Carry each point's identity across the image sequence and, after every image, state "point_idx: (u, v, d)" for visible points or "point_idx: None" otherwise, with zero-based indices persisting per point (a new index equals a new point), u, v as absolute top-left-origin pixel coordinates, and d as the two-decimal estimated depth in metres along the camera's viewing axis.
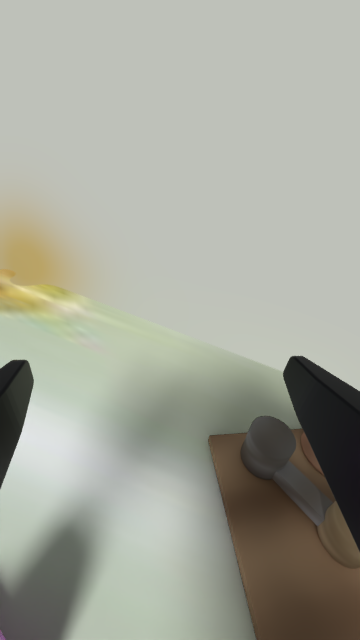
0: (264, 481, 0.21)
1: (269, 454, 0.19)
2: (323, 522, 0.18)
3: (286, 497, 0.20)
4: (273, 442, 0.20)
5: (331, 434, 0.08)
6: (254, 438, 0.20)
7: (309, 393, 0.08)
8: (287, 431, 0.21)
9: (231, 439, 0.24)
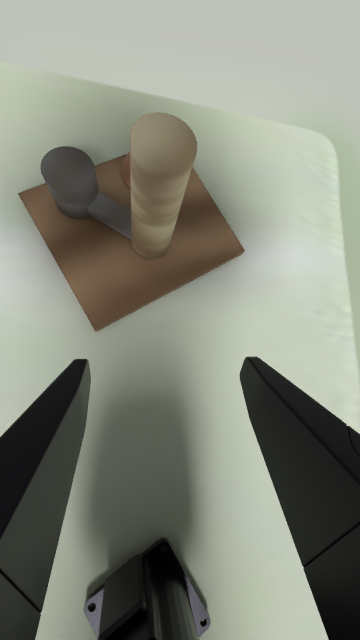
0: (85, 220, 0.22)
1: (64, 190, 0.18)
2: (131, 235, 0.21)
3: (107, 227, 0.22)
4: (68, 176, 0.18)
5: (276, 438, 0.07)
6: (46, 177, 0.18)
7: (259, 395, 0.08)
8: (85, 159, 0.19)
9: (44, 190, 0.22)
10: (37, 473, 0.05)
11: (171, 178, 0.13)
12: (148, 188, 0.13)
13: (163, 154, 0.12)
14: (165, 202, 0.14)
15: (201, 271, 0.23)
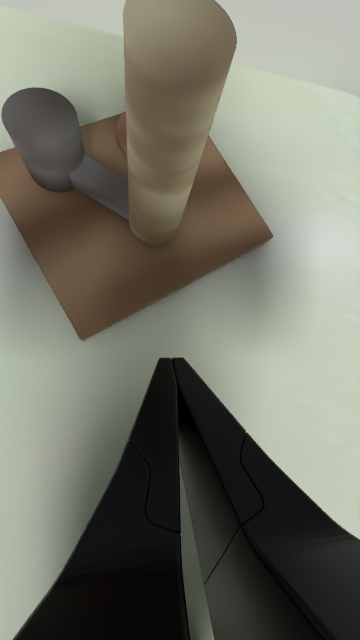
0: (68, 195, 0.17)
1: (35, 146, 0.13)
2: (128, 212, 0.15)
3: (97, 204, 0.17)
4: (41, 127, 0.13)
5: (186, 445, 0.07)
6: (9, 128, 0.13)
7: None
8: (64, 105, 0.14)
9: (15, 155, 0.16)
10: (178, 461, 0.05)
11: (193, 93, 0.07)
12: (154, 117, 0.08)
13: (181, 45, 0.07)
14: (180, 146, 0.09)
15: (219, 262, 0.18)
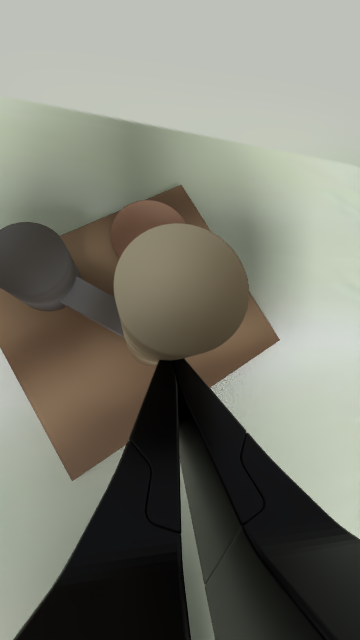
0: (59, 311, 0.15)
1: (20, 293, 0.12)
2: None
3: None
4: (27, 269, 0.12)
5: (186, 445, 0.07)
6: None
7: None
8: (53, 240, 0.12)
9: None
10: (179, 461, 0.05)
11: None
12: (152, 353, 0.07)
13: (184, 316, 0.06)
14: (182, 358, 0.08)
15: (222, 375, 0.16)
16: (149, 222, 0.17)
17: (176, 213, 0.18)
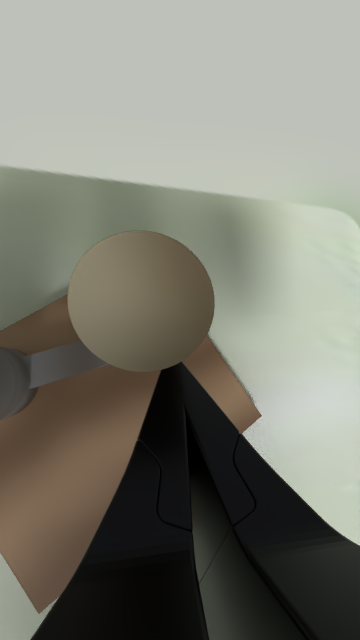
0: (15, 414, 0.14)
1: None
2: None
3: (52, 419, 0.14)
4: None
5: None
6: None
7: None
8: None
9: None
10: (188, 460, 0.05)
11: None
12: None
13: (168, 320, 0.06)
14: None
15: None
16: None
17: None
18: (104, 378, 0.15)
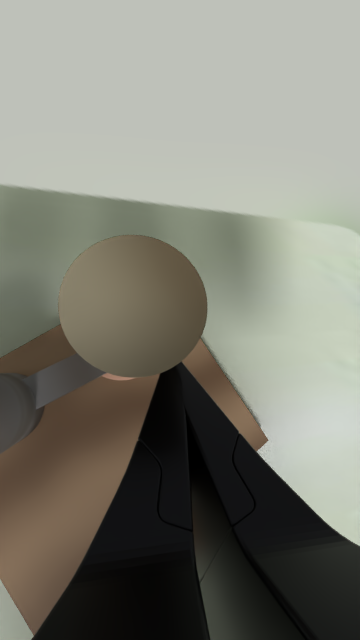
0: None
1: (6, 445, 0.10)
2: None
3: (57, 445, 0.14)
4: None
5: None
6: None
7: None
8: None
9: None
10: (188, 460, 0.05)
11: None
12: None
13: (164, 321, 0.06)
14: None
15: None
16: None
17: None
18: (109, 402, 0.15)
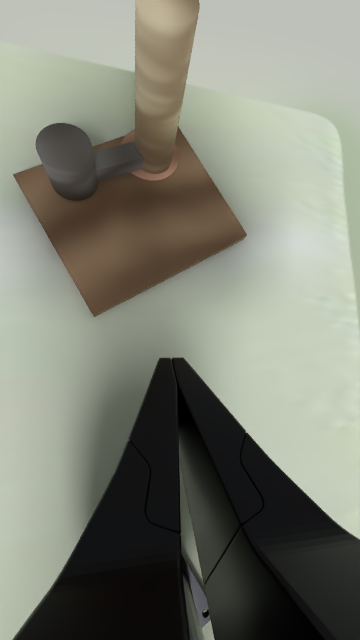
0: (82, 202, 0.21)
1: (84, 162, 0.18)
2: (144, 160, 0.21)
3: (105, 210, 0.21)
4: (72, 150, 0.18)
5: (186, 445, 0.07)
6: (62, 166, 0.17)
7: None
8: (63, 127, 0.18)
9: (40, 171, 0.21)
10: (178, 461, 0.05)
11: (195, 26, 0.13)
12: (179, 58, 0.14)
13: (179, 7, 0.13)
14: (187, 67, 0.15)
15: (202, 255, 0.22)
16: None
17: None
18: (139, 192, 0.22)
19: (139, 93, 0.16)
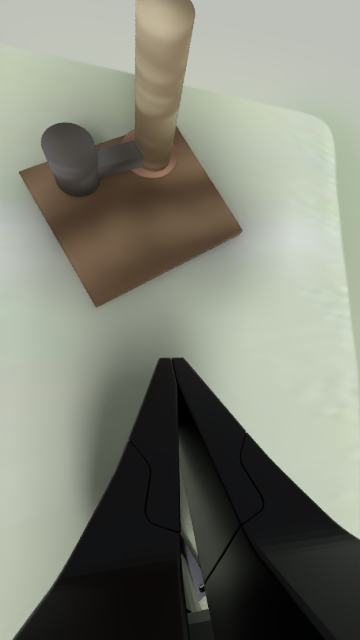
0: (84, 198, 0.22)
1: (87, 159, 0.19)
2: (143, 158, 0.22)
3: (106, 205, 0.22)
4: (75, 148, 0.19)
5: (186, 445, 0.07)
6: (66, 163, 0.18)
7: None
8: (67, 127, 0.19)
9: (45, 169, 0.22)
10: (178, 461, 0.05)
11: (191, 32, 0.14)
12: (176, 62, 0.15)
13: (176, 14, 0.14)
14: (184, 70, 0.16)
15: (199, 249, 0.23)
16: None
17: None
18: (139, 189, 0.23)
19: (139, 94, 0.17)
